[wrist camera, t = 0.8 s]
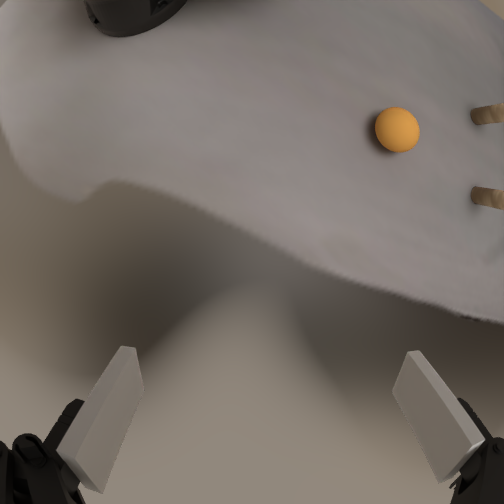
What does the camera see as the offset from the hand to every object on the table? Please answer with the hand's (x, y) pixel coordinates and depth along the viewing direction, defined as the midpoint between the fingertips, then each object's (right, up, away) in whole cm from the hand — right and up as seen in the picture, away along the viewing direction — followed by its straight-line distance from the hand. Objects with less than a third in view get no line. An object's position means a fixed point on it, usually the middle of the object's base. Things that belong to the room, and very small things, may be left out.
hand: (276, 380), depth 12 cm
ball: (+16, +20, +16) cm, 30 cm away
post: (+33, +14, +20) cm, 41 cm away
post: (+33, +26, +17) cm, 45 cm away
